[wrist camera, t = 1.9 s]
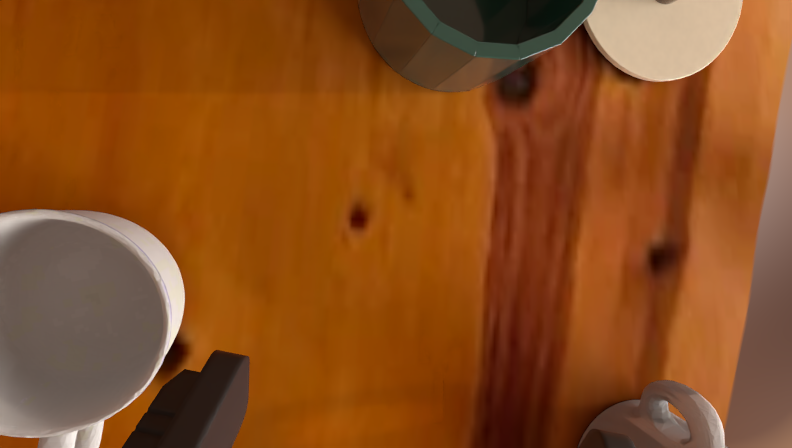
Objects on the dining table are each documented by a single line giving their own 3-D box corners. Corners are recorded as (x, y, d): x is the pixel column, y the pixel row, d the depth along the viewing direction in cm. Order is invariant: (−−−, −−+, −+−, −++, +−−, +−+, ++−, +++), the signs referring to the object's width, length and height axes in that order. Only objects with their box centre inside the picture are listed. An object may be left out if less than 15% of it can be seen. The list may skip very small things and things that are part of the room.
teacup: (25, 189, 27) (-88, 189, 19) (215, 220, 29) (183, 231, 22) (-9, 414, 28) (-132, 503, 20) (180, 428, 30) (137, 513, 22)
